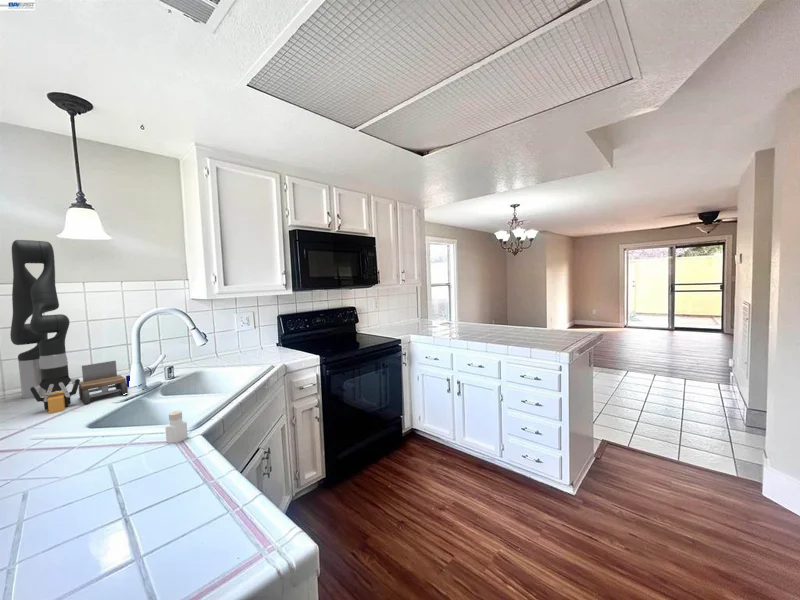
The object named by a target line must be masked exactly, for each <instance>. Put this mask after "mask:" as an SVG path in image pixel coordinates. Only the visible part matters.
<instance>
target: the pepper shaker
mask: <svg viewBox="0 0 800 600" xmlns="http://www.w3.org/2000/svg"><path fill="white" fill-rule="evenodd" d="M168 422H169V423H168V424H167V425H166V426H165V438H166V443H171V444H178V443H179V442H182V441H183V440H186V439H187V438H188V436H189V435H188V422H187V421H184V420H183V411H182V410H175V411H171V412H169V413H168Z"/></svg>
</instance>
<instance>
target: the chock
mask: <svg viewBox="0 0 800 600" xmlns="http://www.w3.org/2000/svg"><path fill="white" fill-rule="evenodd" d="M65 409H66V405H65V394H64V392H63V391H62V390H61V391H55V392H52V393H51V394H50V397H49V398H48V410H49V411H48V414H49V415H50V414H56V413H59V412H60V413H61V412H64V411H65Z"/></svg>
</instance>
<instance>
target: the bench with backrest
mask: <svg viewBox="0 0 800 600" xmlns="http://www.w3.org/2000/svg"><path fill="white" fill-rule="evenodd" d="M81 372H82V381H80V382H79V386H78V396H79V400H80V401H81V400H82V403H83V405H88V404H90V403H91V398H94V397H100V396H105V395H109V394H114V393H120V395H121V394H125V393H128V394H129V390H128V389H129V388H127V384H126V377H124V376H122V375H121V374H118V373H117V372H118V371H117V360H110V361H104V362H96V363H91V364H86V365H81ZM114 388H115V389H114ZM109 389H110V390H109ZM99 391H101V392H99ZM119 391H120V392H119ZM94 392H97V393H94Z"/></svg>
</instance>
